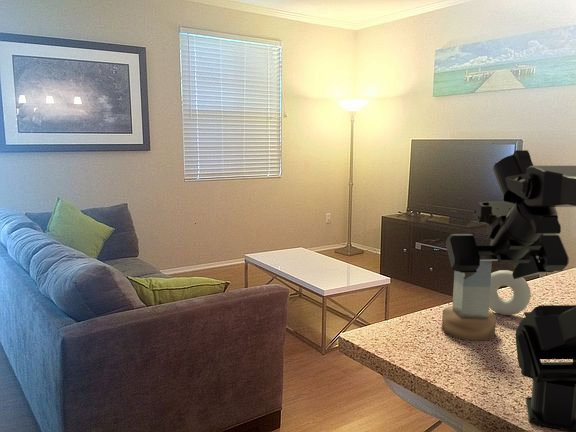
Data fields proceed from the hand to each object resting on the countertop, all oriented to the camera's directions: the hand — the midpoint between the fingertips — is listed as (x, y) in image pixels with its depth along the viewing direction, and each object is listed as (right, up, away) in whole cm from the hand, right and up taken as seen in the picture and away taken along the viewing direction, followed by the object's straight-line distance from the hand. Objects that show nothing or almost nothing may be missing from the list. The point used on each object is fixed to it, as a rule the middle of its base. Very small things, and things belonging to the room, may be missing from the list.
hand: (488, 276), depth 86 cm
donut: (+11, -11, +19) cm, 25 cm away
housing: (0, -9, +9) cm, 13 cm away
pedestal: (0, -12, +10) cm, 15 cm away
